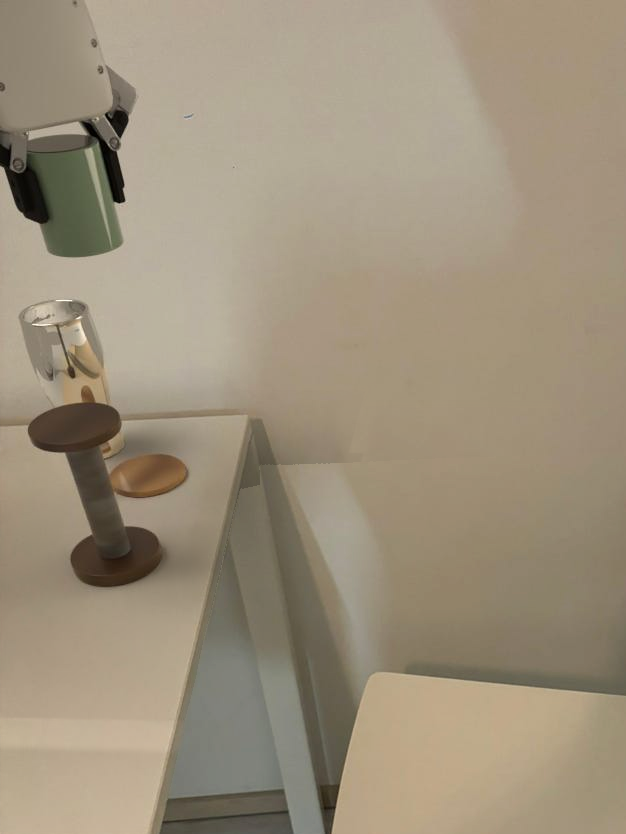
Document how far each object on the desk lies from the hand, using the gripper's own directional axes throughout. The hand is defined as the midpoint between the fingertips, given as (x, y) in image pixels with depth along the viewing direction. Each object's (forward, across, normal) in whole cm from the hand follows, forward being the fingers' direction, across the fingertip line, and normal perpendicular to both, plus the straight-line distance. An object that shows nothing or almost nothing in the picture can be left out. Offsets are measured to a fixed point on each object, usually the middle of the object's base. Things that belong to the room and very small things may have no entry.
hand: (75, 207), depth 79 cm
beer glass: (+27, 0, -10) cm, 28 cm away
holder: (+26, +10, +10) cm, 30 cm away
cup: (+3, 0, 0) cm, 3 cm away
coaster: (+26, 0, 0) cm, 26 cm away
